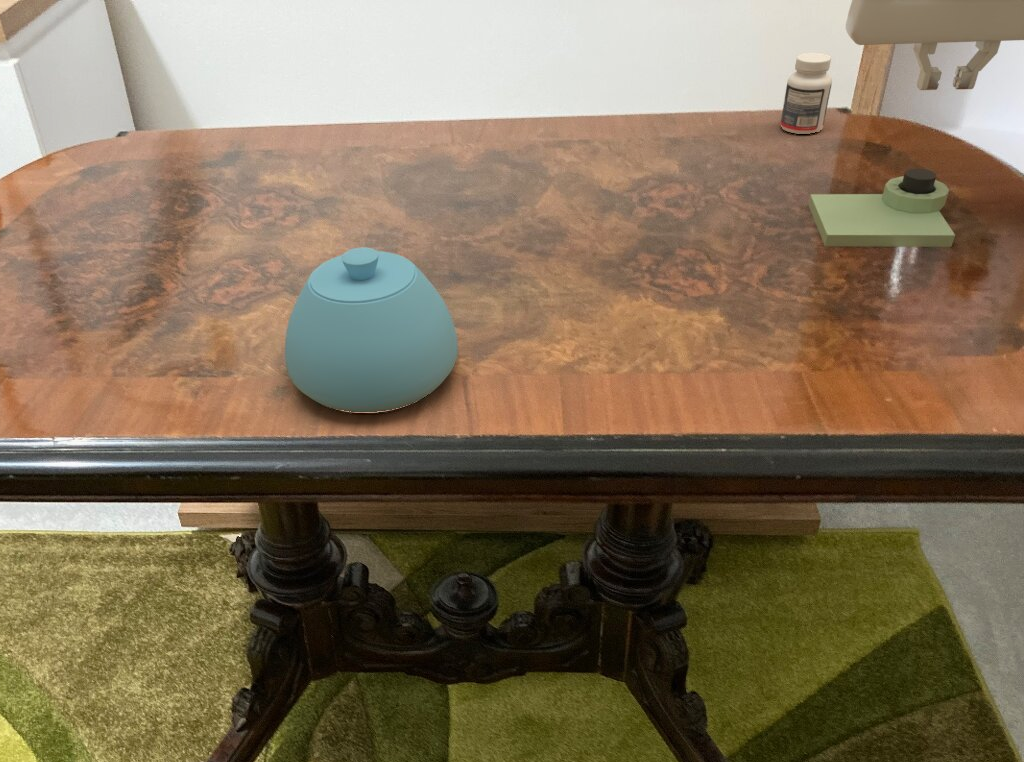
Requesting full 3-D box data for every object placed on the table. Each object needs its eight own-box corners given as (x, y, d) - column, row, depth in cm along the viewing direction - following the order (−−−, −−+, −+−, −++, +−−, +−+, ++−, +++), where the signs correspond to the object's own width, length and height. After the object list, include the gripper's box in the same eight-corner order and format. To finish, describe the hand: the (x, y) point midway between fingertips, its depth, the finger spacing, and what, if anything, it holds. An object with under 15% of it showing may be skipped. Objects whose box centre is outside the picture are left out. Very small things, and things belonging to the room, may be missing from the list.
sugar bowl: (270, 421, 77) (243, 299, 69) (311, 327, 88) (292, 214, 81) (448, 426, 74) (440, 300, 67) (467, 329, 86) (462, 213, 79)
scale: (931, 202, 100) (939, 175, 98) (961, 248, 91) (970, 219, 90) (806, 202, 102) (811, 176, 100) (824, 247, 94) (830, 219, 92)
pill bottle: (794, 118, 122) (807, 48, 117) (830, 127, 119) (845, 55, 113) (771, 129, 120) (783, 58, 114) (807, 138, 116) (821, 66, 111)
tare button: (927, 184, 97) (932, 168, 96) (935, 195, 95) (940, 179, 94) (897, 184, 98) (901, 168, 97) (904, 195, 96) (908, 179, 94)
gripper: (871, -59, 81) (838, 101, 89) (1130, -72, 77) (1069, 96, 86) (856, -73, 85) (826, 80, 94) (1098, -85, 82) (1044, 75, 91)
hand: (944, 88), depth 90 cm, fingers closed
